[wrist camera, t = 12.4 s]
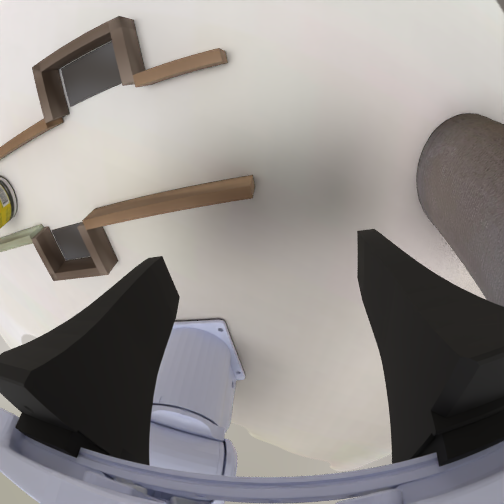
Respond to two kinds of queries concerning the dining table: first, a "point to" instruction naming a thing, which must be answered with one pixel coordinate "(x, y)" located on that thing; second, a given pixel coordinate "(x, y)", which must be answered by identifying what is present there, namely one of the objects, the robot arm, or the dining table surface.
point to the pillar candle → (468, 195)
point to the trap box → (55, 107)
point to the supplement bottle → (6, 202)
